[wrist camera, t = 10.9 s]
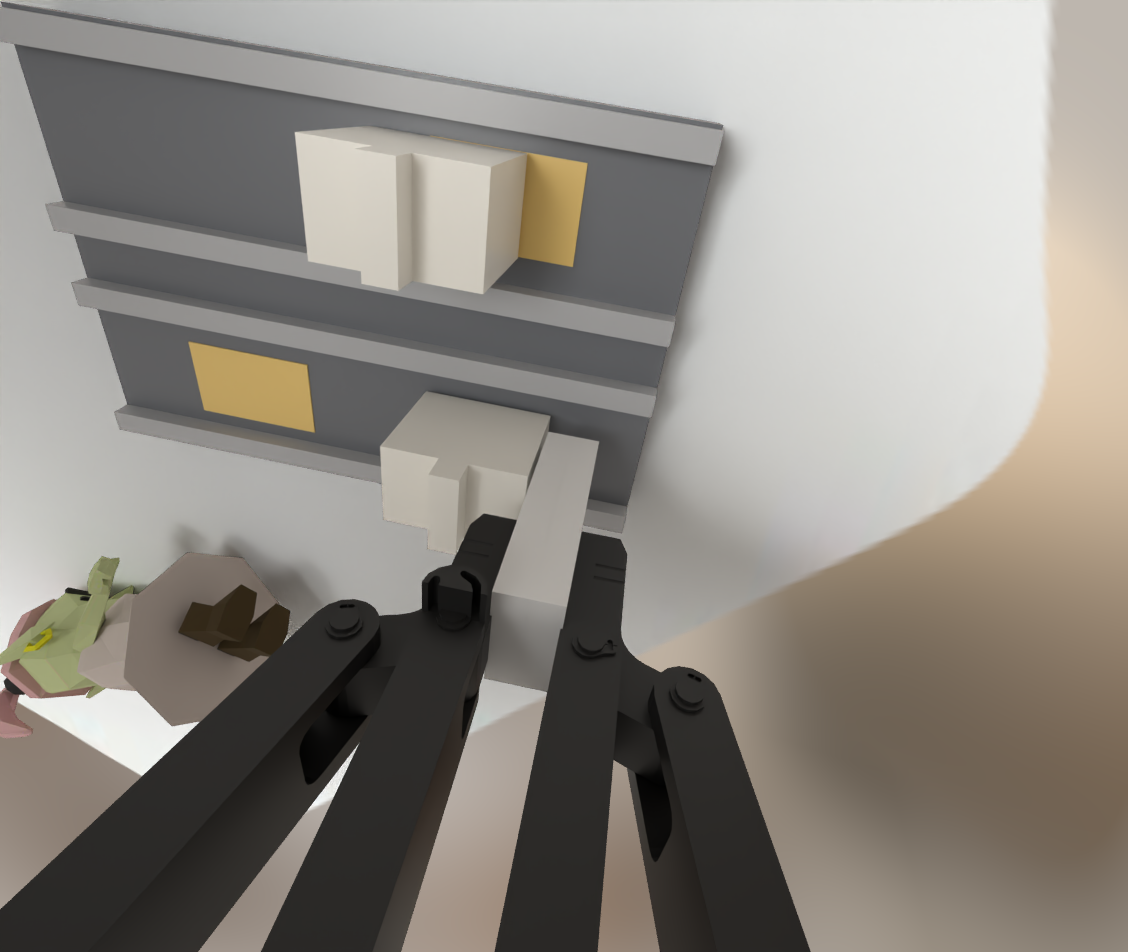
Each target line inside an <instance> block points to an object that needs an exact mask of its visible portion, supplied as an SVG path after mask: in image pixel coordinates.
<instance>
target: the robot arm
mask: <svg viewBox="0 0 1128 952" xmlns="http://www.w3.org/2000/svg"><path fill="white" fill-rule="evenodd" d="M598 445H599V441H594V440H589V439H584V438H579V437H573V436H568V435H563V434H558V433H553V432H548V434H547V437H546V440H545V443H544V446H543V448H542V451H541V454H540V457H539V460H538V463H537V465H536V468H535V471H534V474H533V477H532V480H531V482H530V485H529V488H528V491H527V494H526V496H525V499H524V502H523V505H522V508H521V511H520V513H519V516H518V519H517V520H515V519H510V518H505V517H500V516H495V515H490V514H485V513H484V514H482V515H481V516H480V517H479V518H477V519H476V520H475V521H474V522H472V523H471V524H470V526H469V528H468V530H467V533H466V535H465V537H464V540H463V541H462V543H461V546H460V548H459V551H458V552H457V554H456V556H455V559H454V561H453V563H452V565H449V566H445V567H440V568H438V569H436V570H434V571H432V572H430V573H429V574H428V575H427V576H426V577H425V579H424V580H423V581H422V609H420V610H418V611H415V612H412V613H407V614H400V615H384V616H379V615H378V613H377V611H376V609H375V608H374V607H373V606H371V605H370V604H368V603H367V602H363V601H359V600H355V599H352V600H340V601H337V602H334V603H331V604H328V605H327V606H325V607H324V608H322V609H321V610H319V611H318V612H317V613H316V614H315V615H314V616H312V617H311V618H310V619H309V620H308V621H307V622H306V623H305V624H304V625H303V626H302V627H301V628H300V629H299V630H298V631H296V632H295V633H294V634H293V635H292V636H291V637H290V638H289V639H288V640H287V641H286V642H285V643H284V644H283V645H282V646H280V647H279V648H278V649H277V650H276V651H275V652H274V653H273V654H272V655H271V656H270V657H269V658H268V659H267V660H266V661H264V662H263V663H262V664H261V665H260V666H259V667H258V668H257V669H256V670H255V671H254V672H253V673H252V674H251V675H250V676H249V677H247V678H246V679H245V680H244V681H243V682H242V683H241V684H240V685H239V686H238V687H237V688H236V689H235V690H234V691H233V692H231V693H230V694H229V695H228V696H227V697H226V698H225V699H224V700H223V701H222V702H221V703H220V704H219V705H218V706H217V707H215V708H214V709H213V710H212V711H211V712H210V713H209V714H208V715H207V716H206V717H205V718H204V719H203V720H202V721H201V722H199V723H198V724H197V725H196V726H195V727H194V728H193V729H192V730H191V731H190V732H189V733H188V734H187V735H186V736H185V737H184V738H182V739H181V740H180V741H179V742H178V743H177V744H176V745H175V746H174V747H173V748H172V749H171V750H170V751H169V752H168V753H166V754H165V755H164V756H163V757H162V758H161V759H160V760H159V761H158V762H157V763H156V764H155V765H154V766H153V767H152V768H150V769H149V770H148V771H147V772H146V773H145V774H144V775H143V776H142V777H141V778H140V779H139V780H138V781H137V782H136V783H134V784H133V785H132V786H131V787H130V788H129V789H128V790H127V791H126V792H125V793H124V794H123V795H122V796H121V797H120V798H119V799H118V800H116V801H115V802H114V803H113V804H112V805H111V806H110V807H109V808H108V809H107V810H106V811H105V812H104V813H103V814H101V815H100V816H99V817H98V818H97V819H96V820H95V821H94V822H93V823H92V824H91V825H90V826H89V827H88V828H87V829H86V830H84V831H83V832H82V833H81V834H80V835H79V836H78V837H77V838H76V839H75V840H74V841H73V842H72V843H71V844H70V845H68V846H67V847H66V848H65V849H64V850H63V851H62V852H61V853H60V854H59V855H58V856H57V857H56V858H55V859H54V860H52V861H51V862H50V863H49V864H48V865H47V866H46V867H45V868H44V869H43V870H42V871H41V872H40V873H39V874H38V875H36V877H34V878H33V879H32V880H31V881H30V882H29V883H28V884H27V885H26V886H25V887H24V888H23V889H22V890H21V891H19V892H18V893H17V894H16V895H15V896H14V897H13V898H12V899H11V900H10V901H9V902H8V903H7V904H6V905H5V906H3V907H2V908H1V909H0V952H198V951H199V950H200V948H201V947H202V946H203V944H204V943H205V942H206V941H207V939H208V938H209V937H210V935H211V934H212V933H213V931H214V930H215V929H216V928H217V926H218V925H219V924H220V922H221V921H222V920H223V919H224V917H225V916H226V915H227V913H228V912H229V911H230V909H231V908H232V907H233V906H234V904H235V903H236V902H237V900H238V899H239V898H240V897H241V895H242V894H243V893H244V891H245V890H246V889H247V887H248V886H249V885H250V884H251V882H252V881H253V880H254V878H255V877H256V876H257V874H258V873H259V872H260V871H261V869H262V868H263V866H265V864H266V863H267V862H268V860H269V859H270V858H271V856H272V855H273V854H274V852H275V851H276V850H277V849H278V847H279V846H280V845H281V843H282V842H283V841H284V840H285V838H286V837H287V836H288V834H289V833H290V832H291V831H292V829H293V828H294V827H295V825H296V824H297V823H298V821H299V820H300V819H301V818H302V816H303V815H304V814H305V812H306V811H307V810H308V809H309V807H310V806H311V805H312V803H313V802H314V801H315V799H316V798H317V797H318V796H319V794H320V793H321V792H322V790H323V789H324V788H325V786H326V785H327V784H328V783H329V781H330V780H331V779H332V777H333V776H334V775H335V774H336V772H337V771H338V770H339V768H340V767H341V766H342V764H343V763H344V762H345V761H346V759H347V758H348V757H349V755H350V754H351V753H352V752H353V750H354V749H355V748H356V746H357V745H358V744H359V745H358V747H357V749H356V751H355V754H354V756H353V758H352V760H351V762H350V764H349V766H348V768H347V770H346V773H345V775H344V777H343V779H342V781H341V783H340V785H339V787H338V790H337V792H336V794H335V796H334V798H333V800H332V802H331V804H330V807H329V809H328V811H327V813H326V815H325V817H324V819H323V821H322V824H321V826H320V828H319V830H318V832H317V834H316V836H315V838H314V840H313V843H312V845H311V847H310V849H309V851H308V853H307V855H306V857H305V859H304V862H303V864H302V866H301V868H300V870H299V872H298V874H297V876H296V879H295V881H294V883H293V885H292V887H291V889H290V891H289V893H288V895H287V898H286V900H285V902H284V904H283V906H282V908H281V910H280V912H279V915H278V917H277V919H276V921H275V923H274V925H273V927H272V929H271V932H270V934H269V936H268V938H267V940H266V942H265V944H264V947H263V949H262V951H261V952H401V950H402V947H403V943H404V940H405V937H406V934H407V930H408V927H409V924H410V920H411V917H412V914H413V911H414V908H415V904H416V901H417V898H418V895H419V891H420V888H421V885H422V882H423V878H424V875H425V872H426V869H427V865H428V862H429V859H430V856H431V853H432V849H433V846H434V843H435V839H436V836H437V833H438V830H439V826H440V823H441V820H442V816H443V814H444V810H445V807H446V804H447V801H448V797H449V794H450V791H451V788H452V784H453V781H454V778H455V774H456V771H457V768H458V765H459V762H460V758H461V755H462V752H463V749H464V746H465V742H466V739H467V736H468V733H469V729H470V726H471V723H472V720H473V716H474V713H475V710H476V707H477V703H478V697H479V686H480V683H481V680H482V677H483V674H484V671H485V675H484V678H485V679H489V680H494V681H499V682H503V683H508V684H513V685H517V686H522V687H527V688H531V689H536V690H541V691H545V692H547V696H546V701H545V707H544V711H543V716H542V721H541V726H540V731H539V736H538V741H537V746H536V751H535V755H534V760H533V765H532V770H531V775H530V780H529V785H528V790H527V795H526V800H525V805H524V810H523V815H522V820H521V825H520V829H519V834H518V839H517V844H516V849H515V854H514V859H513V864H512V869H511V874H510V879H509V883H508V888H507V893H506V898H505V903H504V908H503V913H502V918H501V923H500V928H499V932H498V938H497V943H496V947H495V952H597V951H598V939H599V926H600V914H601V903H602V891H603V878H604V867H605V855H606V843H607V830H608V818H609V806H610V805H609V804H610V793H611V782H612V770H613V760H615V761H616V762H618V763H620V764H622V765H623V766H625V767H627V771H628V777H629V782H630V788H631V793H632V799H633V804H634V810H635V815H636V821H637V826H638V832H639V837H640V843H641V849H642V854H643V860H644V866H645V871H646V876H647V882H648V888H649V893H650V899H651V904H652V909H653V916H654V921H655V927H656V932H657V938H658V943H659V949H660V952H810V949H809V946H808V943H807V940H806V938H805V935H804V932H803V929H802V926H801V923H800V920H799V917H798V915H797V912H796V909H795V906H794V904H793V900H792V897H791V894H790V892H789V889H788V886H787V883H786V880H785V877H784V875H783V872H782V869H781V866H780V863H779V860H778V857H777V855H776V852H775V849H774V846H773V843H772V840H771V838H770V835H769V832H768V829H767V826H766V823H765V820H764V818H763V815H762V812H761V810H760V806H759V803H758V800H757V798H756V795H755V792H754V789H753V786H752V783H751V781H750V778H749V775H748V772H747V769H746V767H745V764H744V761H743V758H742V755H741V752H740V750H739V746H738V744H737V741H736V738H735V735H734V732H733V729H732V727H731V724H730V721H729V718H728V715H727V712H726V709H725V707H724V704H723V701H722V698H721V695H720V693H719V692H718V690H717V688H716V687H715V685H714V683H712V682H711V681H710V680H709V679H708V678H707V677H706V676H705V675H704V674H702V673H700V672H698V671H696V670H694V669H691V668H686V667H680V666H678V667H672V668H667V669H666V670H664V671H663V672H659V671H657V670H655V669H653V668H651V667H649V666H647V665H645V664H644V663H642V662H641V661H639V660H637V659H636V658H635V657H634V656H633V655H632V654H631V653H630V652H629V651H628V649H627V648H626V646H625V645H624V642H623V640H622V637H621V621H622V610H623V598H624V586H625V585H624V584H625V575H626V563H627V553H626V551H625V548H624V546H623V544H622V542H621V540H620V539H617V538H612V537H607V536H602V535H597V534H592V533H587V532H582V527H583V522H584V517H585V511H586V506H587V501H588V496H589V491H590V486H591V481H592V476H593V471H594V465H595V460H596V455H597V450H598ZM359 742H360V743H359Z"/></svg>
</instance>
